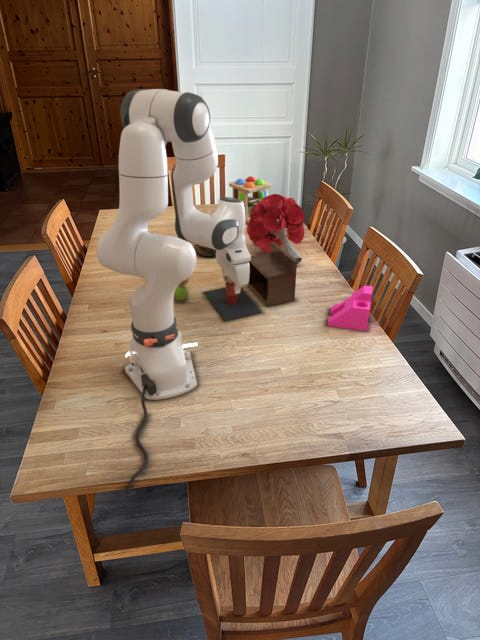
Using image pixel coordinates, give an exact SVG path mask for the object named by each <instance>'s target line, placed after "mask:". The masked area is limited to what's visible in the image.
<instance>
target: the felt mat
mask: <svg viewBox="0 0 480 640" xmlns="http://www.w3.org/2000/svg"><path fill="white" fill-rule="evenodd" d="M203 294H204V295H205V297H206V298H207V299H208V300H209V302H210V303H211V305H212V306H213V307H214V308H215V310H216V311H217V312H218V313H219V315H220V317H221V318H222V319H223V320H224V322H227V321H232V320H236V319H241V318H245V317H249V316H254V315H257V314H262V313H263V311H262V310H261V309H260V308H259V306H258V305H257V304H256V303H255V302H254V301H253V300H252V299H251V298H250V297H249V295H248V294H247V293H246V292H245V291H244V290H243V289H242V287H241V288H240V293H238V302H237V303H236V304H228V303H226V287H222V288H217V289H212V290H211V289H210V290H207V291H204V292H203Z"/></svg>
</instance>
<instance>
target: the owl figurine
mask: <svg viewBox="0 0 480 640" xmlns="http://www.w3.org/2000/svg"><path fill="white" fill-rule="evenodd" d="M201 212H202V213H206V214H210V215H212V214H213V213H212V212H211V210H209V209H204V210H202V211H201ZM194 250H195V252H196V254H197V255H199V256H200V257H203V258H204V257H205V258H211V257H214V258H216V250H215V249H212V248H208V247H204V246H200V245H197V244H195V246H194Z"/></svg>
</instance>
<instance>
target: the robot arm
mask: <svg viewBox="0 0 480 640" xmlns="http://www.w3.org/2000/svg"><path fill="white" fill-rule="evenodd" d="M120 120H121V124H122V126H123V129H122V131H121V134H120V141H119V148H118V149H119V150H118V151H119V152H118V178H119V179H118V181H119V183H118V185H119V187H118V188H119V205H118V211H117V213H116V214H117V215H116V217H115V219H114V222H113V223H112V225H111V226H110V227H109V228H108V229H107V230H105V231H104V232H103V233H102V234H101V235H100V237H99V238H98V240H97V243H96V250H95V251H96V252H95V253H96V257H97V259H98V262H99V264H100V266H102V267H104V268H106V269H108V270H110V271H113V272H116V273H118V274H124V275H129V276H135V277H140V278H143V279H144V280H145V284H142V285H140V286H139V287H137V288H135V290H133V291H132V293H131V295H130V297H129V307H130V308H129V309H130V314H131V315H130V316H131V323H130V326H131V327H130V330H131V334H132V338H131V340H130V341H129V343H128V345H127V347H128V352H127V353H126V354H125V358H127V357H128V356H129V357H128V358H129V363H127V364H126V366H125V367H124V371H125V374H126V375H127V376H128V377H129V379H130V380H131V381H132V382H133V384H134V385H135V386H136V388H137V389H138V390H139V392H140V393H141V398H140V399H141V406H142V411H143V414H144V415H143V419H142V422H141V423H140V424H139V426H138V429H137V430H136V433H135V442H136V444H137V446H138V447H139V449H140V450H141V451H142V453H143V455H144V462H143V465H142V466H141V467H140V468H139V469H138V470H137V471H136V472H135V473H134V474H133V475H132V477H131V478H130V480H128V481H129V482H128V483H127V487H126V489H125V494H126V495H129V494H130V492H131V487H132V485H133V483H134V481H135V480H136V478H138V476H140V475H141V473H143V472H144V471H145V469H146V468H147V466H148V463H149V454H148V451H147V450H146V448H145V446H144V445H143V444H142V443H141V440H140V433H141V431H142V429H143V428H144V426H145V425H146V422H147V420H148V410H147V406H146V403H145V402H146V401H145V399H147V400H152V401H154V400H156V401H157V400H165V399H170V398H175V397H177V396H181V395H184V394H187V393H189V392H190V391H192V390H194V389H195V388H196V387H197V385H198V383H197V377H196V373H195V369H194V365H193V360H192V354H191V351H188V350H187V349H184V348H189V347H198V342H193V343H186V340H182V332H181V331H180V330H179V329H178V322H177V319H176V317H175V311H174V307H175V306H174V299H175V298H174V293H175V290H176V288H177V286H178V285H179V284H180V283H181V282H183V281H185V280H186V279H188V278H189V279H190V277H191V276H192V274H193V273H194V272H195V269H196V267H197V260H198V258H197V252H196V250H195V247H194V246H193V244H194V245H196V244H197V245H200V246H204V247H208V248H212V249H215V250H216V257H215V261H216V264H217V265H218V266H219V268H220V270H221V273H222V280H223V281H224V282H227V277H228V276H229V277H230V278H231V280H232V281H233V282H234V283H235V287H234V292H235V293H236V294H238V293H240V288H241V289H242V287H245V286H248V283H249V274H250V266H249V261H251V256H252V255H251V254H250V252H249V250H248V248H247V244H246V235H245V229H246V223H245V209H244V204H243V202H242V201H241V200H239V199H236V198H233V197H229V196H224V197H223V196H222V197H221V198H218V201H217V207H216V209H215V211H214V212H213V213H212V215H210V214H206V213H202V212H203V211H200V210H199V209H197V208H196V207H195V204H194V195H193V186H196V185H200V184H202V183H204V182H206V181H208V180H209V179H210V178H211V177H212V176H213V175H214V174H215V172H217V169H218V165H219V156H218V150H217V145H216V140H215V136H214V133H213V130H212V127H211V113H210V108H209V106H208V104H207V102H206V101H205V100H204V98H203V97H202V96H201V95H198V94H195V93H193V92H188V91H186V92H182V91H175V90H169V89H165V88H151V89H150V88H149V89H145V88H139V89H134V90H131V91H129V92H127V93H126V94H125V96H124V98H123V99H122V102H121V104H120ZM167 143H171V147H172V150H173V156H174V160H175V164H174V165H173V166H172V169H171V171H170V172H171V173H170V183H171V191H172V199H173V206H174V216H175V218H174V230H175V231H174V232H175V233H176V236H174V235H166V234H160V233H155V232H154V233H153V232H150V231H149V223H150V221H152V220H154V219H156V218H158V217H161V216H162V215H163V214H164V213H165V212H166V210H167V208H168V205H169V175H168V174H169V170H168V168H169V167H168V156H167V150H166V149H167V148H166V146H167Z"/></svg>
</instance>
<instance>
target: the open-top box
mask: <svg viewBox="0 0 480 640" xmlns="http://www.w3.org/2000/svg"><path fill="white" fill-rule="evenodd" d="M249 266H250V274H249V283H248V284H247V286H248V287H249V288H250V289H251V290H252V291H253V292H254V293H255V294H256V296H257V297H258V298H259V299H260V300H261V301H262V302H263V303H264V304H265V305H266V306H267V307H268V308H269V307H274V306H277V305H282V304H287V303H291V302H295V299H296V298H295V297H296V283H297V269H298V267H297V266H298V264H297V261H296V260H295V259H294V258H293V257H291V256H290V255H289V254H288V253H287V252H285V249H283V248H282V246H281V247H279V246H278V245H277V244H276V243H275V242H271V249H270V253H266V252H265V253H261V254H255V255H251V261H249Z"/></svg>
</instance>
